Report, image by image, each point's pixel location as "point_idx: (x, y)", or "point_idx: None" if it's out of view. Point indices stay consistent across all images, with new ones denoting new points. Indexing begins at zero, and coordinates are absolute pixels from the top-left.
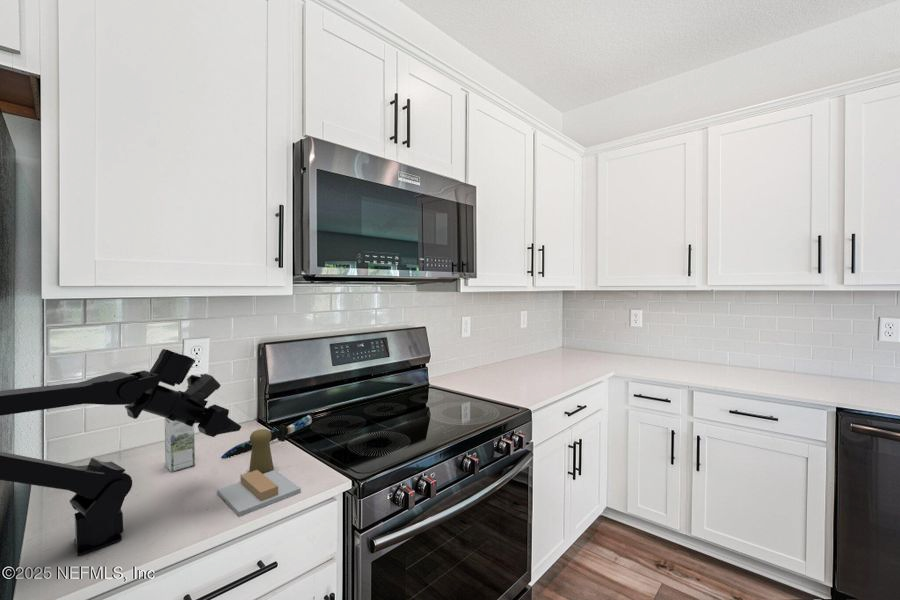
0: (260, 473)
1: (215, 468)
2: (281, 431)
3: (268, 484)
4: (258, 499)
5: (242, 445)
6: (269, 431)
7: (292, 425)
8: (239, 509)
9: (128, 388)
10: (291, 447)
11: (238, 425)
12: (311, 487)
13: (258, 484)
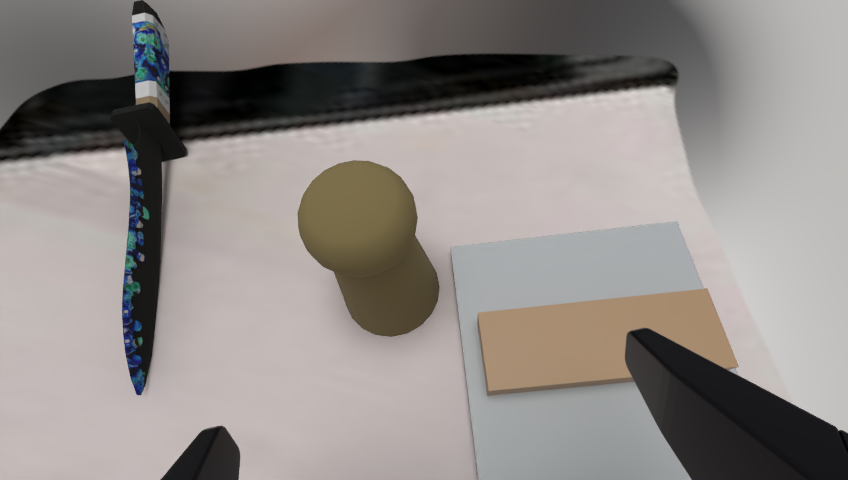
0: (528, 312)
1: None
2: (147, 131)
3: (666, 315)
4: None
5: (133, 289)
6: (373, 163)
7: (148, 85)
8: None
9: None
10: (266, 148)
11: (694, 358)
12: (649, 191)
13: None
